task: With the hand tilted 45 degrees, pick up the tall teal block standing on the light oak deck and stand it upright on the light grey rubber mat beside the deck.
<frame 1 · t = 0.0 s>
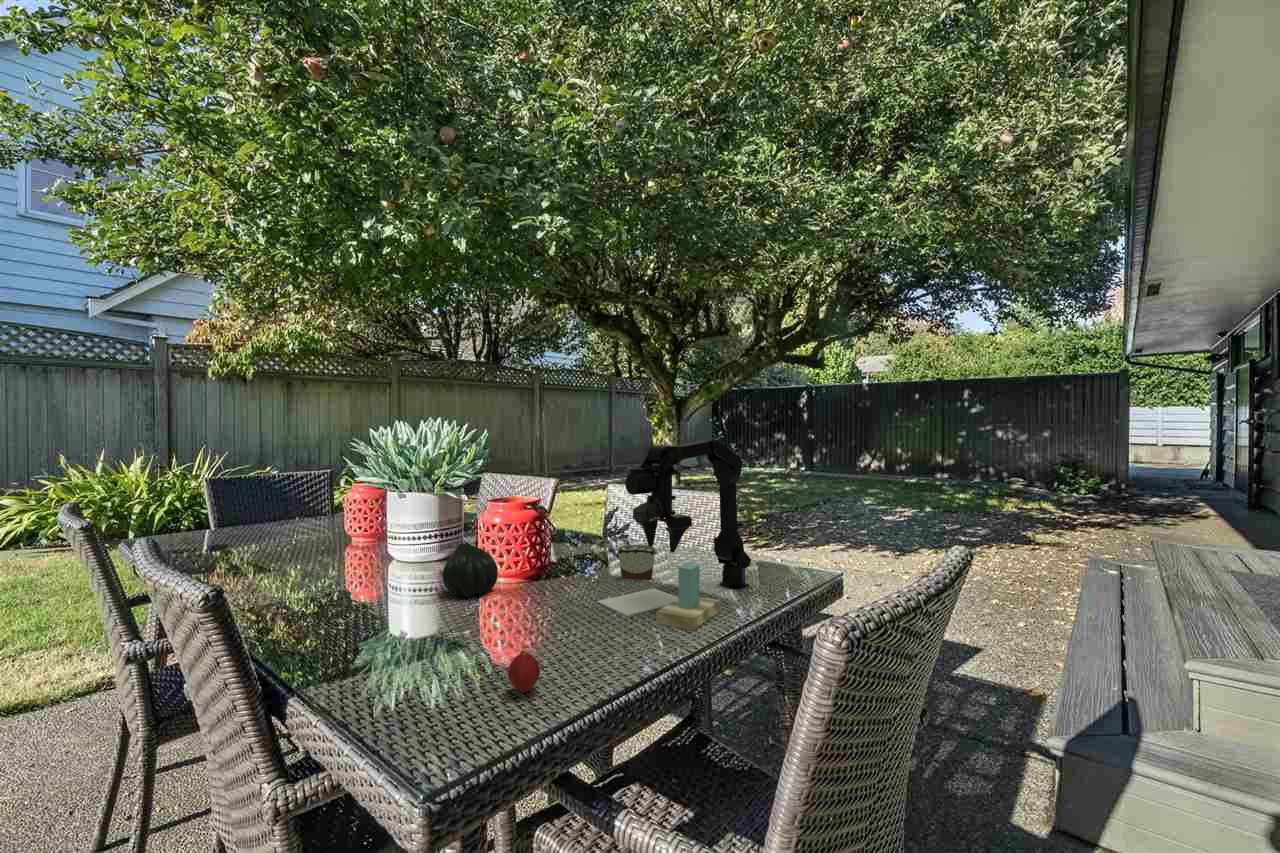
hand: (661, 549, 165), 15 cm above the table, tool pointing down, fingers open, 9 cm apart
mat: (641, 602, 166), on the table
squash: (470, 594, 174), on the table
onion: (524, 692, 113), on the table
food container: (637, 578, 191), on the table
deck: (688, 617, 154), on the table
tall teal block: (689, 605, 154), point 3 cm above the table, touching deck
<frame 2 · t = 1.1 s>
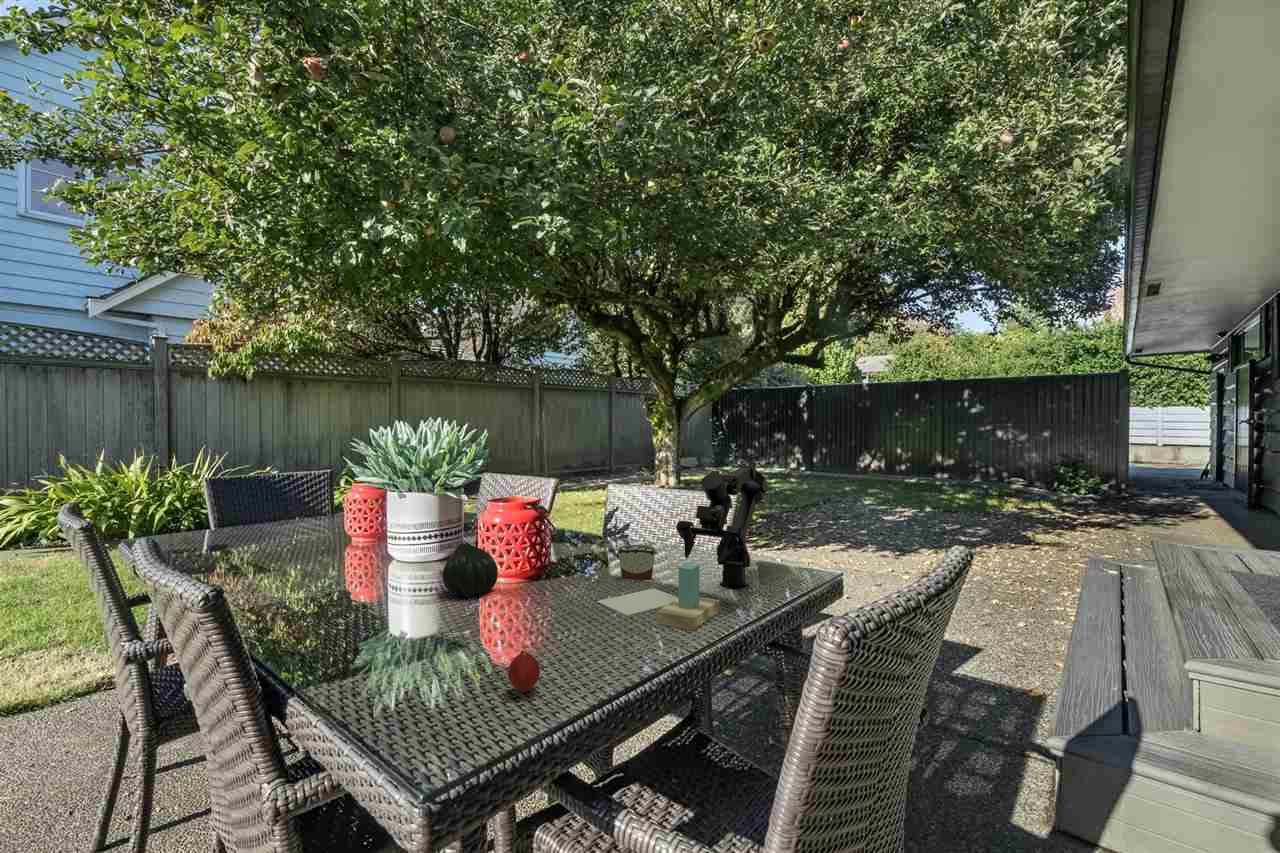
hand: (701, 559, 161), 13 cm above the table, tool tilted 45°, fingers open, 9 cm apart
nothing on the table moved.
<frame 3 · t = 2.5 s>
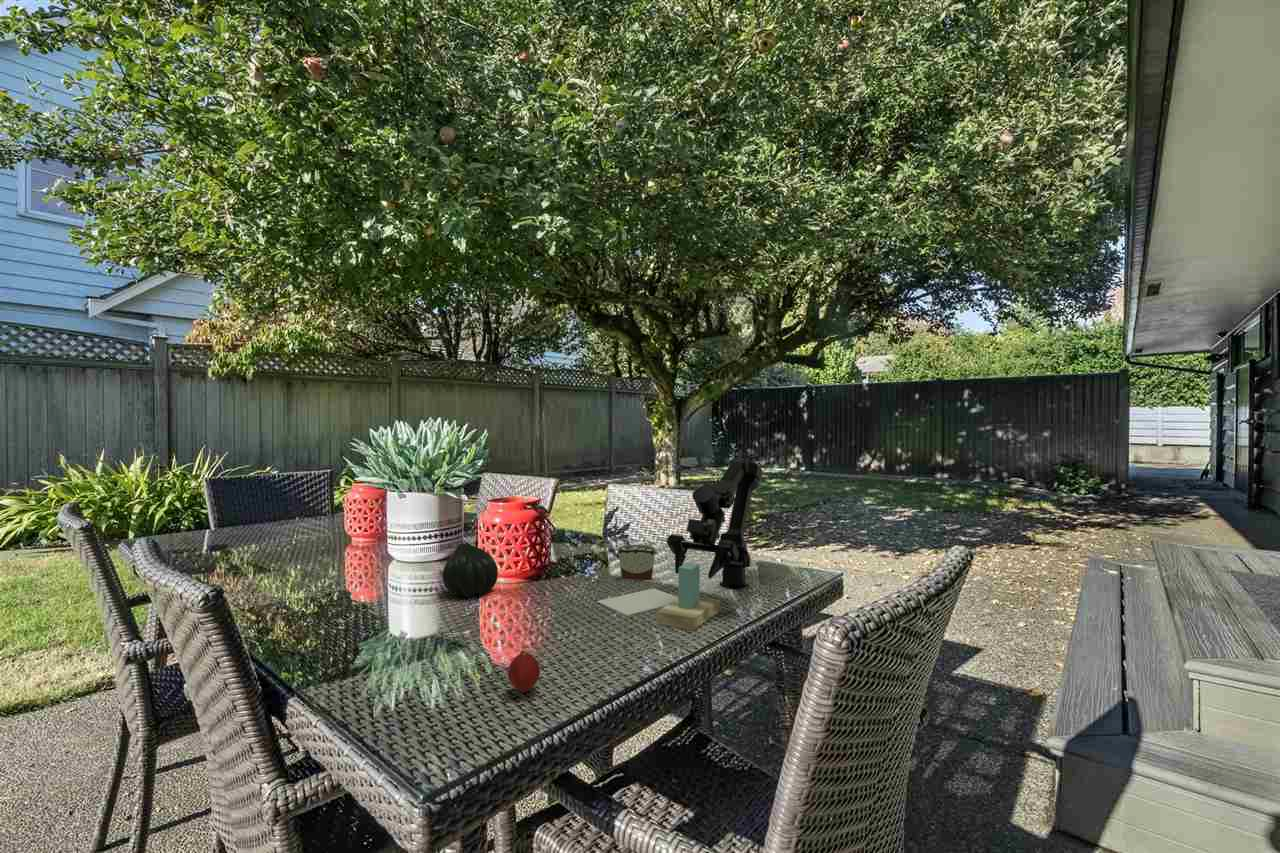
hand: (692, 575, 156), 10 cm above the table, tool tilted 45°, fingers open, 9 cm apart
nothing on the table moved.
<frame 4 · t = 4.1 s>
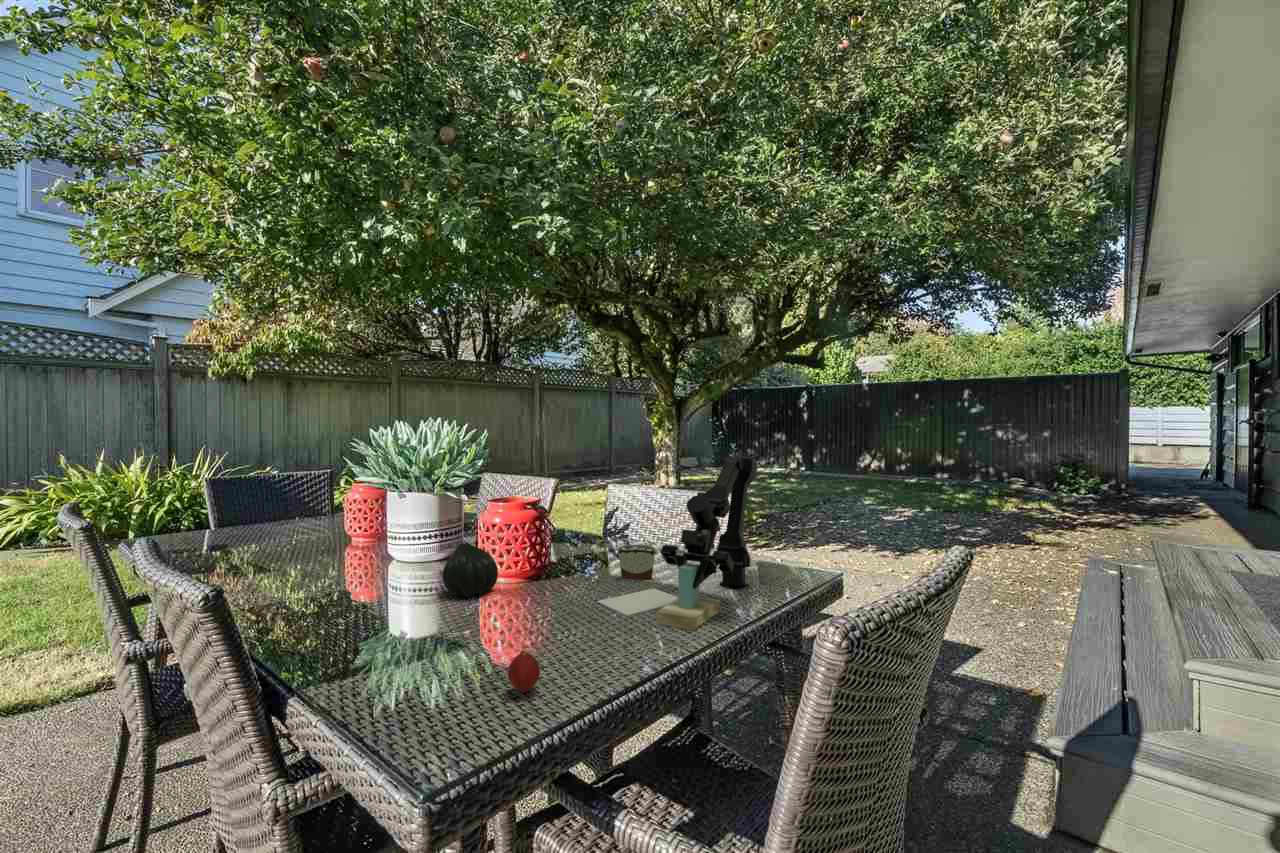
hand: (686, 587, 153), 8 cm above the table, tool tilted 45°, fingers closed on tall teal block, 3 cm apart
tall teal block: (689, 605, 154), point 3 cm above the table, touching deck, gripper
everything else where it was.
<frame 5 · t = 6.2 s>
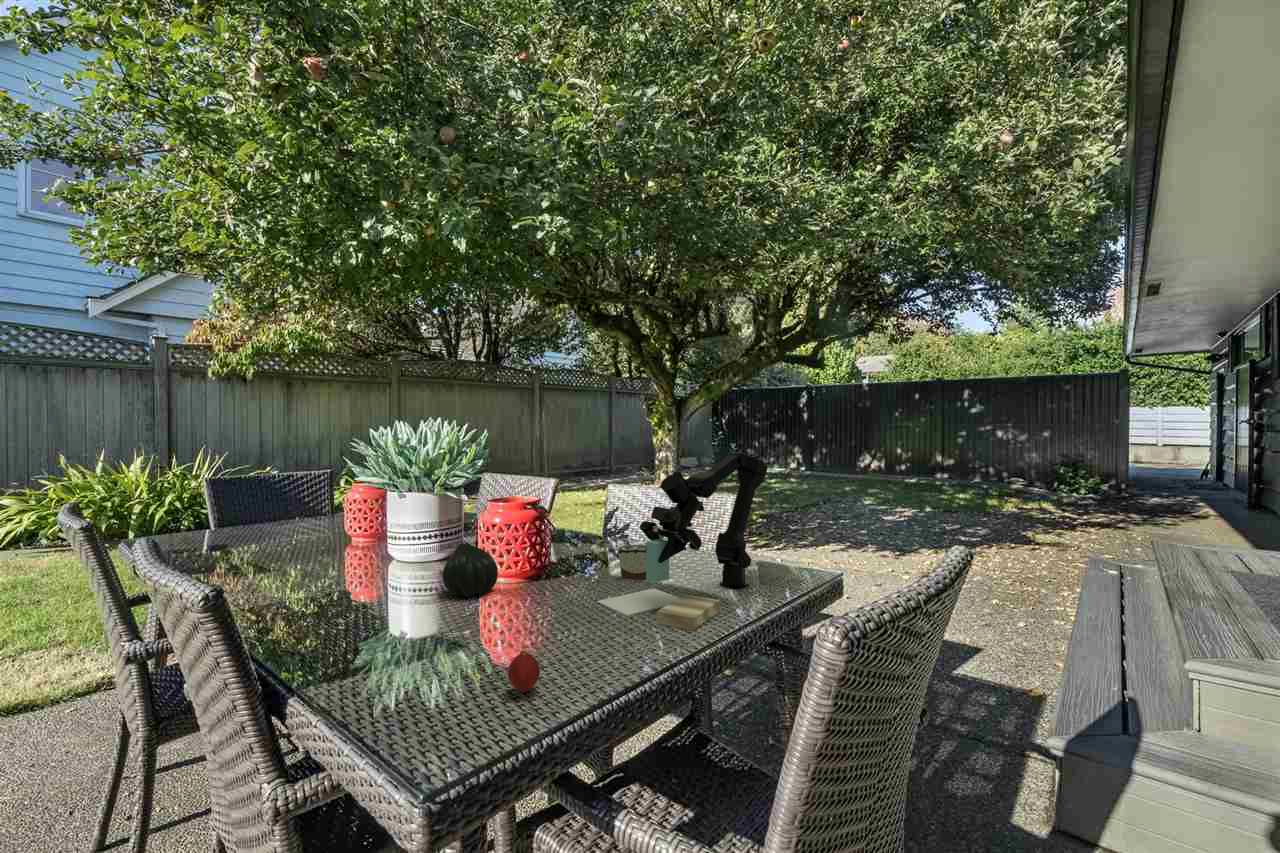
hand: (654, 560, 159), 13 cm above the table, tool tilted 45°, fingers closed on tall teal block, 3 cm apart
tall teal block: (657, 579, 160), point 8 cm above the table, touching gripper
everything else where it was.
when the fingers open (7 cm above the table, at t = 8.7 s): tall teal block drops 1 cm, resting on mat.
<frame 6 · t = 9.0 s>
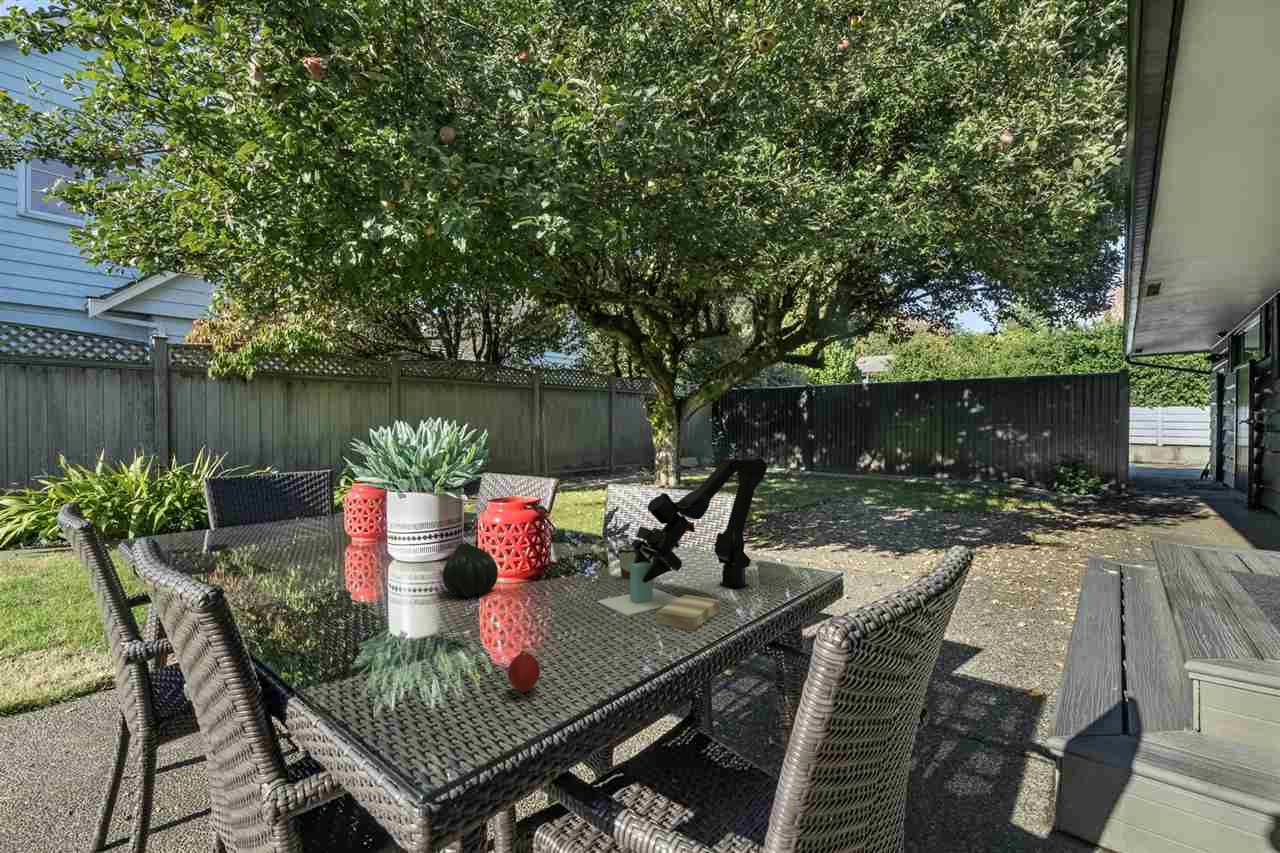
hand: (637, 578, 165), 7 cm above the table, tool tilted 45°, fingers open, 6 cm apart
tall teal block: (641, 600, 166), resting on mat
everything else where it was.
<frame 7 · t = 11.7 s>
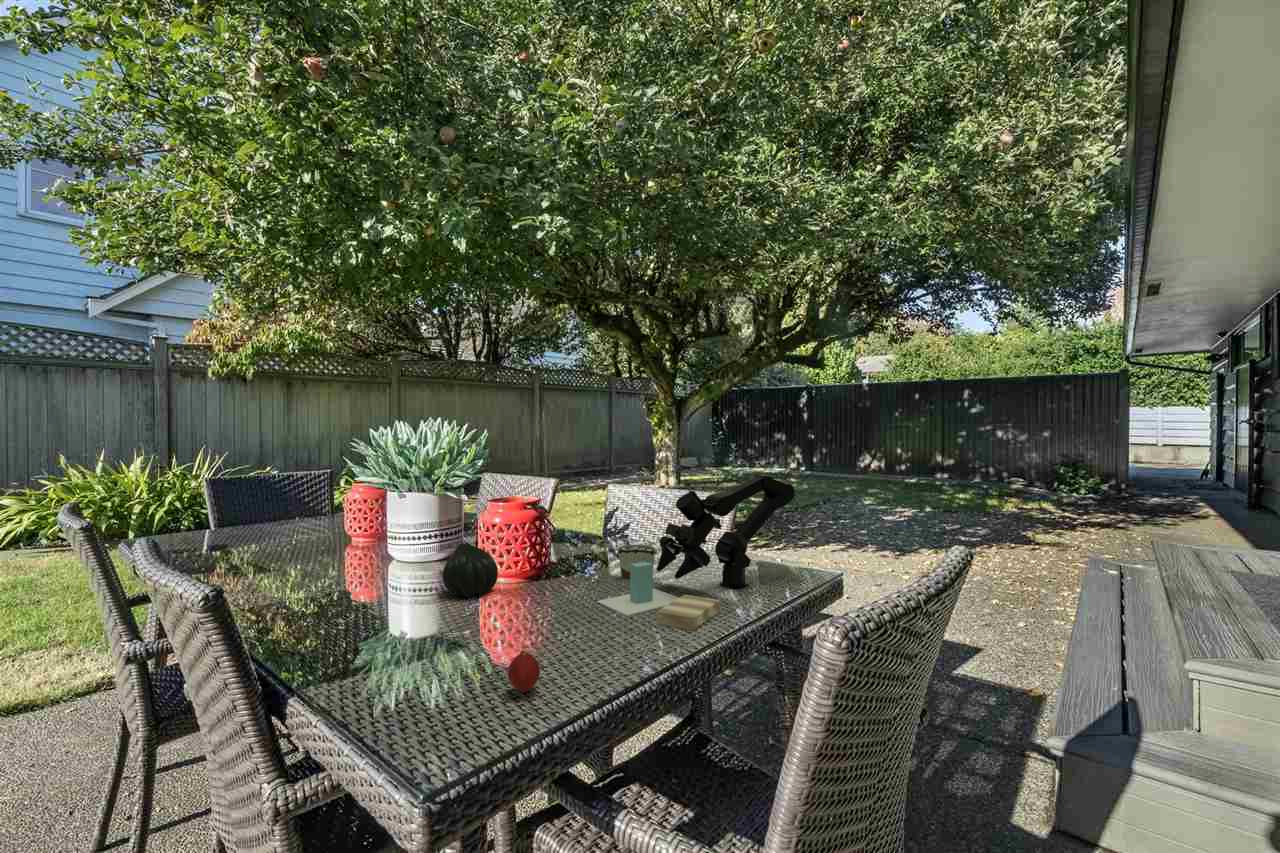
hand: (666, 574, 170), 7 cm above the table, tool tilted 45°, fingers open, 9 cm apart
nothing on the table moved.
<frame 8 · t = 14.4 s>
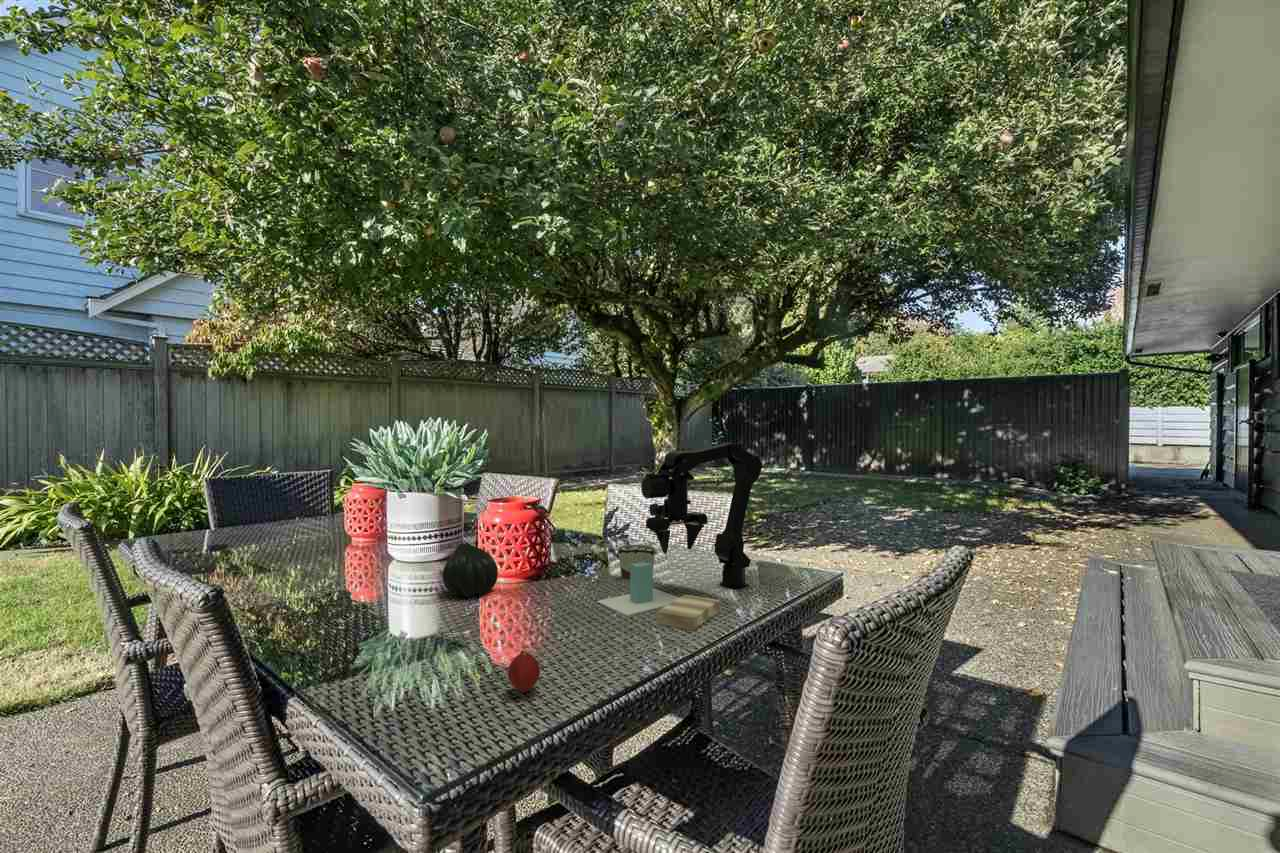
hand: (677, 551, 172), 12 cm above the table, tool pointing down, fingers open, 9 cm apart
nothing on the table moved.
at the end: tall teal block inside the target area on the mat (0.0 cm from its centre), point 0.4 cm above the mat's base; tall teal block tilted 0°; the gripper is holding nothing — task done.
